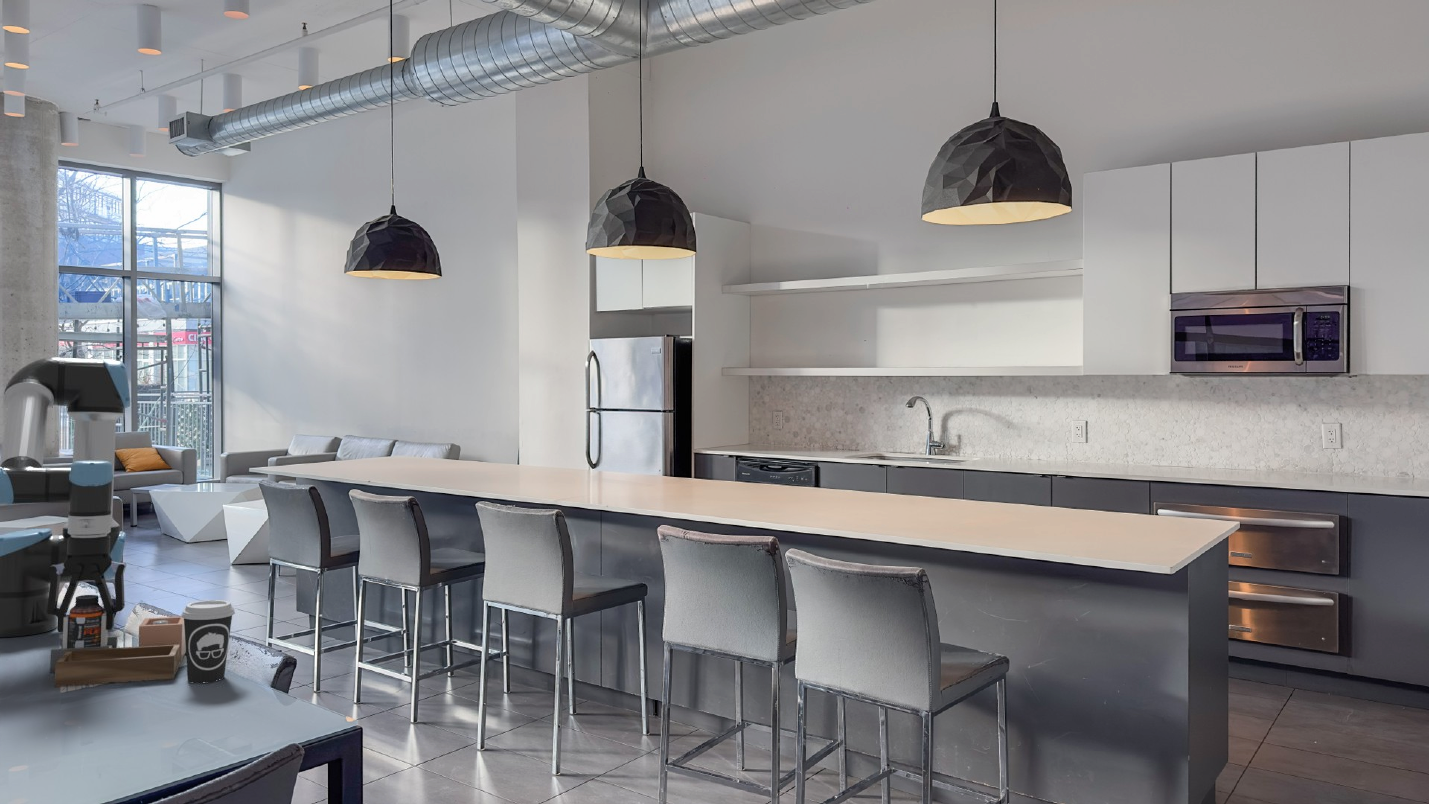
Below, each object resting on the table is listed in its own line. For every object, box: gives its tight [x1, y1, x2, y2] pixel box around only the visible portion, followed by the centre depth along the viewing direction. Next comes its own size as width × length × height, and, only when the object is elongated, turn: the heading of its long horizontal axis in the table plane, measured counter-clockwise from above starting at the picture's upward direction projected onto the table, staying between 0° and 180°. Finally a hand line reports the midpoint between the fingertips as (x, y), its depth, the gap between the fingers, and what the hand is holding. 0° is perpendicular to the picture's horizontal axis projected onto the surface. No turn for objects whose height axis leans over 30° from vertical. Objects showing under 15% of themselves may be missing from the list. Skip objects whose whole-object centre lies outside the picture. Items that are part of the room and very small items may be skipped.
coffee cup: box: [180, 599, 236, 684], centre depth 193 cm, size 10×10×15 cm
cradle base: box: [49, 635, 119, 674], centre depth 200 cm, size 10×10×4 cm
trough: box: [54, 644, 181, 688], centre depth 193 cm, size 10×20×4 cm, turn 113°
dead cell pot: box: [137, 616, 186, 663], centre depth 207 cm, size 8×8×8 cm
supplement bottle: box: [68, 594, 104, 648], centre depth 200 cm, size 6×6×11 cm
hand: (85, 646), depth 200 cm, fingers closed on supplement bottle, 6 cm apart
